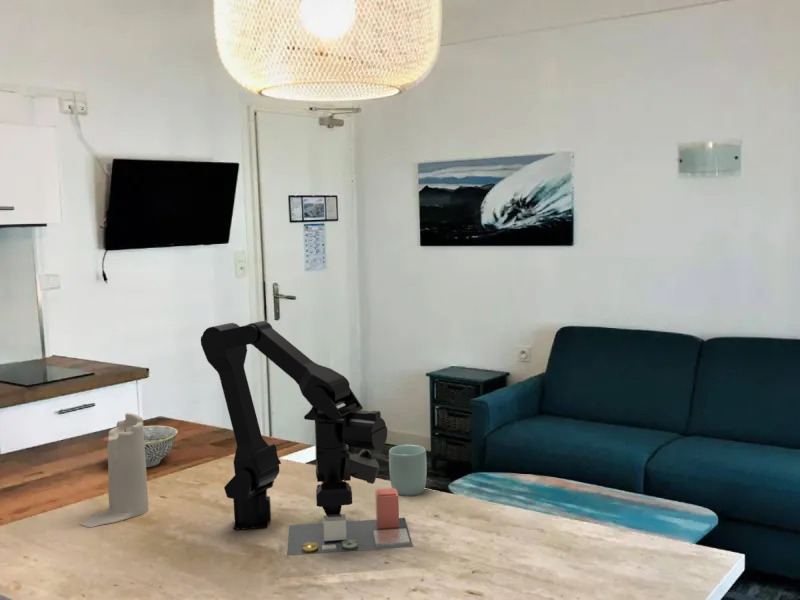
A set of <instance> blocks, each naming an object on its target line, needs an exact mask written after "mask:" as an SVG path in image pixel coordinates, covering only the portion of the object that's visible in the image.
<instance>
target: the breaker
mask: <svg viewBox="0 0 800 600" xmlns="http://www.w3.org/2000/svg"><path fill="white" fill-rule="evenodd" d="M346 518H347V517H346V514H345V513H343V514H342V513H340V514H333V515H326V514H324V515H323V519H322V520H323V522H322V523H324V541H333V540H347V536H346V521H347V519H346Z"/></svg>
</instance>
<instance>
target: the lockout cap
mask: <svg viewBox="0 0 800 600" xmlns="http://www.w3.org/2000/svg"><path fill="white" fill-rule="evenodd" d="M374 493H375V496H374V497H375V520H376V521H377V526H378V528H390V527H399V518H400V505H399V503H400V502H399V495H398V493H397V490H396V489H394V488H392V487H389V488H388V487H387V488H377V489H375V492H374Z"/></svg>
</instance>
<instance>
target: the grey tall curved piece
mask: <svg viewBox="0 0 800 600" xmlns="http://www.w3.org/2000/svg"><path fill="white" fill-rule="evenodd" d="M124 418H125V419H124V420H118V421H117V423H116V426H115V427H113V428H111V429H110V430H109V432H108V433H107V434H108V438H107V444H106V445H107V448H106V449H107V464H108V465H107V467H108V484H107V485H108V486H107V487H108V489H107V490H108V505H109V507H108V508H109V509H107V510H104V511H102V512H99V513H97V514H93V515H91V516H90V517H88V518H87V519H86V520H84V521H82V522H79V525H82V526H83V527H85V528H92V527H98V526H101V525H110V524H114V523H119V522H122V521H125V520H127V519H132V518H135V517H137V516H141V515H143V514H145V513H147V512H148V511H149V496H148V481H147V478H148V477H147V467H146V458H145V445H144V429H143V426H144V419H143V417H141V416H140V415H138V414H135V413H131V412H130V413H129V412H125V417H124Z"/></svg>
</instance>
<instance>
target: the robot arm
mask: <svg viewBox="0 0 800 600" xmlns="http://www.w3.org/2000/svg"><path fill="white" fill-rule="evenodd" d="M200 345H201V348H202V351H203V353H204V356H205V358H206V361H207V362H208V363H209V364H210V366H211V367H212V368H213V369H214V370H215V371H216V372H217V374H218V377H219V381H220V383H221V384H220V385H221V389H222V391H223V396H224V399H225V404H226V408H227V411H228V415H229V419H230V423H231V426H232V430H233V435H234V439H235V443H236V449H235V454H234V458H233V468H234V469H233V471H234V476H233V477H232V478H231V479H230V480H229V481H228V482H227V483H226V485H224V487H223V488H224V491H225V492H224V493H225V495H226V497H227V499H233V500H232V501H233V513H234V514H233V518H234V519H233V520H234V521H233V522H234V524H233V527H232V528H233V530H249V529H263V528H267V527H269V522H270V521H271V520H272V519H271V518H272V510H271V509H272V507H271V496H268V489H271V488H273V486H274V483H275V480H276V479H277V477H278V475H279V474H280V465H282V462H281V460H280V458H279V456H278V449H277V448H278V447H277V446H276V444H274V443H273V444H271V445H269V444H268V443H267V441H265V439H264V438H263V436H262V433H261V432H262V431H261V429H260V428H261V427H260V424H259V420H258V417H257V414H256V413H257V412H256V409H255V405H254V401H253V398H252V397H253V396H252V393H251V389H250V386H249V382H248V377H247V374H246V371H245V363H246V357H247V353H248V345H251V346H253V347H254V348H256V349H257V350H258V351H260V353H261V354H262V355H264V356H265V357H266V358H267V359H269V360H270V361H271V362H272V363H273V364H274V365H275V366H277V367H278V368H280V370H282V371H283V372H284V373H285V374H286V375H288V377H290V378H291V379H293V380H294V381H295V382H296V384H297V385H298V387H299V390H300V393H301V395H302V396H303V397H304V398H305V400H306V401H307V402H308V403H309V404H310V405H311V406H312V407H310V408H311V409H310V410H309V412H307V413H306V414H305V415H304V416H303V419H304V420H308V421H314V433H315V434H314V435H315V456H316V457H315V459H316V464H315V476H316V477H315V479H316V481H317V482H318V483H319V482H321V484H317V485H316V489H315V493H316V494H315V497H316V498H315V500H316V506H317V507H320V508H321V507H322V509H323V512H324V513H325V515H333V514H341V511H342V507H343V506H350V505H352V504H353V491H352V487H351V485H350V483H348V482H347V481H349V482H350V481H352V480H351V478H355V479H358V480H361V481H364V482H367V483H369V484H375V483H376V479H377V477H378V473H379V470H380V465H379V462H378V460H376V458H372V453H371V451H370V450H373V451H381V450H382V449H383V448H384V446H385V444H386V443H387V438H388V427H387V426H386V421H385V420H384V419H383V418H382V417H381V415H382V414H381V411H379V410H370V411H369V410H363V409H364V408H363V405H362V404H361V403H360V401H359V400H358V398H357V397H356V395H355V393H354V391H353V390H352V389H351V388H350V384H351V383H350V382H349V380H348V379H347V378H346V377H345V376H344V375H343V374H341V373H339V372H337V371H336V370H333V369H332V368H330V367H327V366H323V365H321V364H319V363H316V362H314V361H313V360H312V359H311V358H309V356H307V355H305V353H304V352H302V351H301V350H300V349H298V348H297V347H296V346H294V345H293V344H292V343H291V342H290V341H289V340H287V339H286V338H285V337H284V336H283V335H281V334H280V333H279V332H278V331H276V330H275V329H274V328H273V326H272V324H270V322H268V321H264V320H260V321H257V322H256V321H255V322H251V323H249V324H245V325H243V326H242V325H241V326H240V325H238V324H237V323H235V322H229V323H224V324H223V323H222V324H220V325H215V326H209V327H207V328H206V329H205V330H204V331H203V333H202V336H200ZM343 404H344V405H343ZM340 405H343V406H340ZM338 406H340V407H338ZM349 447H350V448H353V449H354V448H355V449H361V450H360V452H359V453H355V454H353V453H350V449H349Z"/></svg>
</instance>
